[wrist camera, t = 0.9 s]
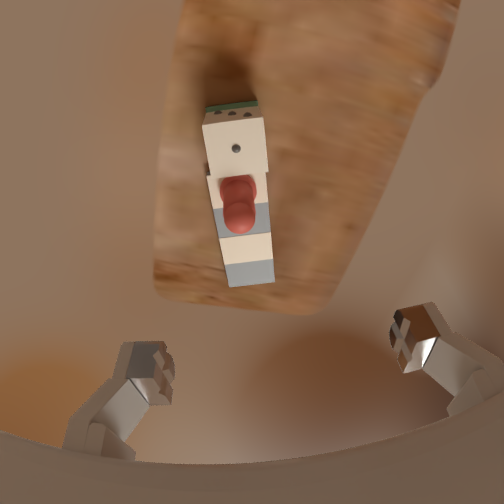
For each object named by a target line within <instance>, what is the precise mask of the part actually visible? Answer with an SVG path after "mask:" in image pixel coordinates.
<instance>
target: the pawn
mask: <svg viewBox="0 0 504 504" xmlns="http://www.w3.org/2000/svg"><path fill="white" fill-rule="evenodd" d="M256 195H257V189H256V184H255V182H254V180H253V179H252V178H251V177H250V176H249V175H247V174H246V175H238V176H231V177H225V178H224V179H223V181H222V182H221V185H220V197H221V199H222V201H223V217H224V223H225V225H226V227H227V228H228V229H229V230H230V231H231V232H233V233H236V234H244V233H246V232H248V231H250V230H251V229H252V227H253V226H254V224H255V216H256V210H255V203H254V200H255V198H256Z"/></svg>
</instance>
